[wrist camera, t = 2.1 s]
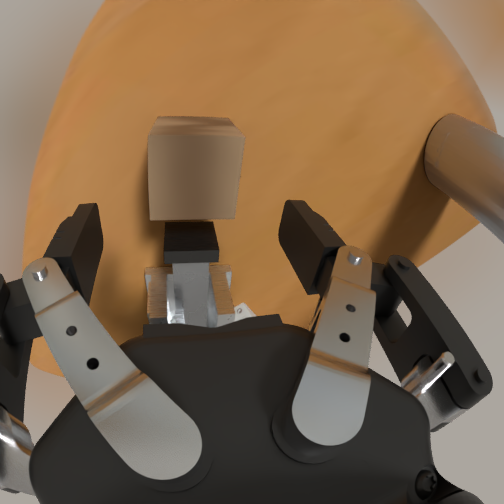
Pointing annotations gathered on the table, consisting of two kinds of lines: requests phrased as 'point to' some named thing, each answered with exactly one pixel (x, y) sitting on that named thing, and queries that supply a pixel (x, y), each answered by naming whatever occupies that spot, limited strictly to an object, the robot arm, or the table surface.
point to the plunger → (190, 267)
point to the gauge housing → (164, 299)
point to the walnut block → (194, 168)
